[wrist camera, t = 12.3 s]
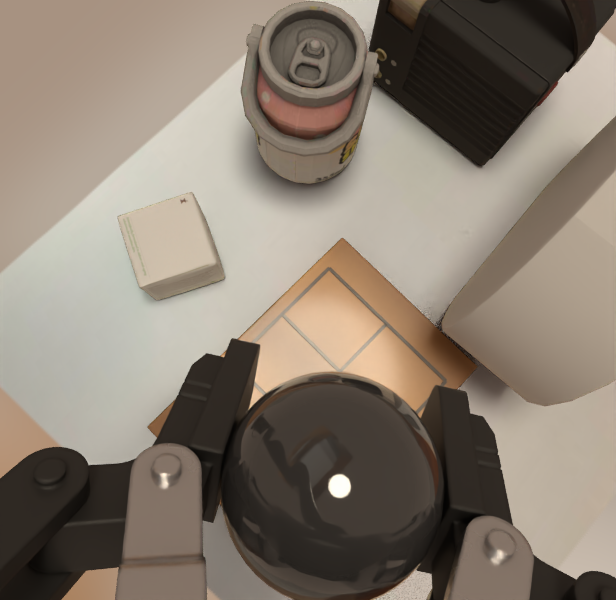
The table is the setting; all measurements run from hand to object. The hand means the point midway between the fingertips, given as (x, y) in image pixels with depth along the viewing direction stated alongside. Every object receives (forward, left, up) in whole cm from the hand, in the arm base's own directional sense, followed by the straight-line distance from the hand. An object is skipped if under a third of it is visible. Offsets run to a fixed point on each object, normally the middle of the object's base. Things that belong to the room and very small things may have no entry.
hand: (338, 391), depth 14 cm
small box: (-9, +11, -28) cm, 32 cm away
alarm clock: (+19, +9, -28) cm, 35 cm away
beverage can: (+1, +20, -28) cm, 35 cm away
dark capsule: (0, -2, -3) cm, 4 cm away
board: (+1, 0, -28) cm, 28 cm away
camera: (+14, +26, -28) cm, 41 cm away
